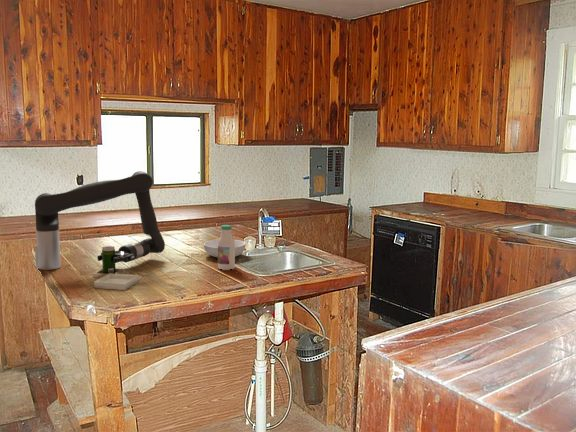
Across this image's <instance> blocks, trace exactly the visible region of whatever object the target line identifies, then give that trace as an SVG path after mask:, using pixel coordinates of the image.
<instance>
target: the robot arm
mask: <svg viewBox="0 0 576 432" xmlns="http://www.w3.org/2000/svg"><path fill="white" fill-rule="evenodd" d="M153 183H154V181H153V177H152V176H151V175H150V174H149V173H147V172H145V171H141V170H138V171H136V172H134V173H133V174H132V175H130V176H127V177H125V178H120V179H110V180H109V179H108V180H101V181H95V182H91V183H88V184H83V185H81V186H78V187H76V188H73V189H71V190H68V191H66V192H62V193H54V194H52V193H48V192H45V193H44V192H43V193H41V194H39V195H37V197H36V198H35V200H34V201H35V202H34V208H35V209H34V211H35V212H34V213H35V214H34V215H35V229H36V230H35V231H36V246H35V247H34V252H35V269H39V270H43V271H44V270H45V271H46V270H47V271H48V270H49V271H51V270H57V269H60V268H61V266H62V265H61V248H60V246H61V245H60V244H61V243H60V226H59V225H60V223H59V220H60V219H59V213H60V212H63V211H67V210H69V209H72V208H78V207H84V206H89V205H93V204H94V205H95V204H98V203H102V202H106V201H109V200H113V199H116V198H119V197H122V196H125V195H130V194H135V198H136V201H137V205H138V208H139V215H140V216H139V217H140V221H141V226H142V231H143V234H144V235H147V236H149V237H150V238H145V239H143V240H140V241H138V242H133V243H130V244H125V245H122V246H120V247H119V248H118V249H117V250H115V258H113V263H115V264H117V263H130V262H132V261H135V260H138V259H140V258H143V257H145V256H147V255H149V254H160V253H162V252H164V250H165V246H166V243H165V239H164V238H163V236H162V233H161V231H160V229H159V225H158V221H157V216H156V212H155V209H154V206H153V203H152V199H151V198H152V197H151V193H150V189H151V188H152V186H153ZM97 261H99V262H100V261H101V262H102V252H100V255H97Z"/></svg>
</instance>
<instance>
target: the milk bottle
mask: <svg viewBox="0 0 576 432" xmlns="http://www.w3.org/2000/svg"><path fill="white" fill-rule="evenodd" d="M220 227H221V233H220V237H219V238H218V239H219V242H218V258H217V268H219V269H218V270H220V269H222V270H221V271H231V270H230V269H232V270H235V267H236V265H235V263H236V257H235V243H234V238H233V235H232V224H231V225H230V224H222V225H221V226H220Z"/></svg>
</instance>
